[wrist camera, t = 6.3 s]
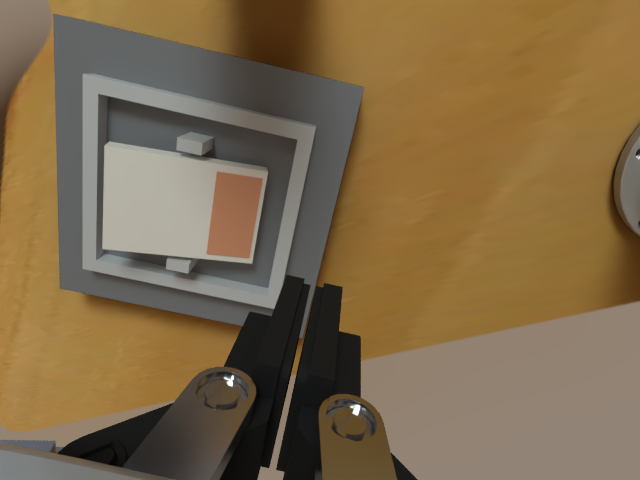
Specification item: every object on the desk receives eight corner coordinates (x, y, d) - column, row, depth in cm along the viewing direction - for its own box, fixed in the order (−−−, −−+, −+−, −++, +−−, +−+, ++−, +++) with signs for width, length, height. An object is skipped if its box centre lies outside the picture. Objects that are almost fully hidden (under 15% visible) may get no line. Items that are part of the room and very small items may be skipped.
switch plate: (361, 86, 30) (366, 89, 24) (305, 318, 37) (299, 358, 32) (81, 19, 29) (24, 7, 23) (81, 271, 36) (38, 305, 31)
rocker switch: (266, 167, 29) (268, 172, 28) (251, 256, 31) (252, 264, 30) (109, 141, 26) (104, 145, 25) (106, 241, 29) (101, 249, 27)
